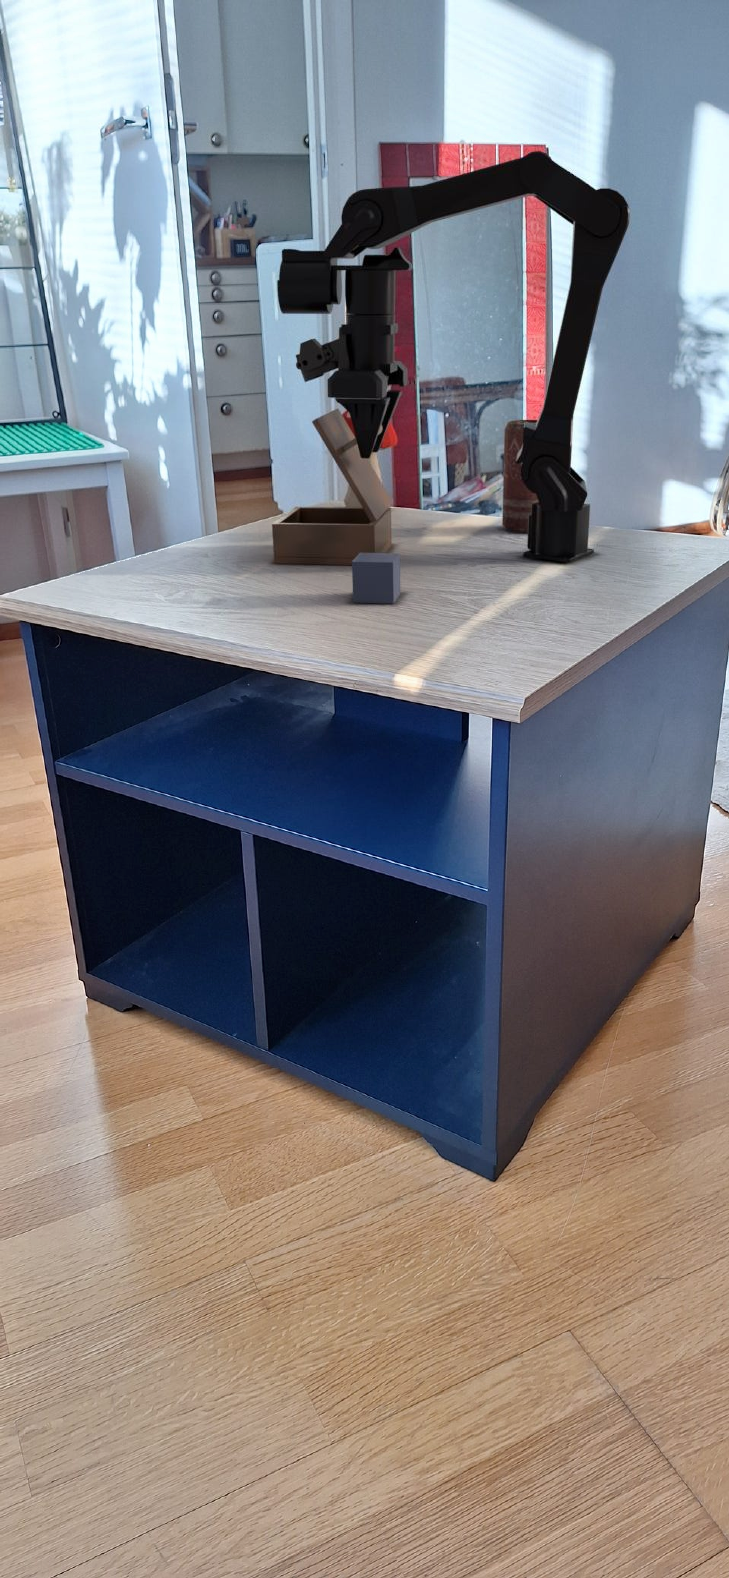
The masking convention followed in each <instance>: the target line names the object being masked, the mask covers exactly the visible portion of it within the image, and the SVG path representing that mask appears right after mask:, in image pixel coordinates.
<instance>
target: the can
mask: <svg viewBox="0 0 729 1578" xmlns="http://www.w3.org/2000/svg"><path fill="white" fill-rule="evenodd" d="M537 420H538V419H516V420H510V421H507V423H506V426H505V428H504V439H503V442H504V443H503V475H502V477H503V479H502V480H503V481H502V482H503V483H502V523H501V524H502V526H503V527H502V528H503V529H504V530H505V531H506V532H509V533H515V534H516V533H517V534H528V517H529V515H531V514H532V504H533V503H536V502H539V501H538V498H537V495H536V494H535V493H532V492H531V491H530V490H529V489H527V488H526V486H525V484H524V483H523V481H522V478H521V464H522V463H519V464H517V463H516V460H517V454H518V452H519V451H520V449H521V447H522V444H523V431H524V423H525V422H529V423H531V424H534V425H536V422H537Z"/></svg>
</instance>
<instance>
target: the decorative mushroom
mask: <svg viewBox="0 0 729 1578" xmlns="http://www.w3.org/2000/svg"><path fill="white" fill-rule="evenodd" d="M341 414H342V416H343V418H344V419H345V421H346V423H347V424H348V426H349V428H350V430H351V431H352V433H353V435H354V436H355V432H354V428H353V424H352V420H351V417H350V414H349V412H348V411H347V410H346V409H345V411H344V412H343V413H341ZM355 438H356V436H355ZM397 445H398V435H397V433H396V430H395V427H394V426H393V424H392V422H391V421H390V423H389V425H388V428H387V430H386V433H385V435H384V438H383V441H382V443H381V446H380V448H379V451H382V450H388V449H390V448H392V447H393V448H394V447H395V446H397ZM368 460H369V462H370V464H371V465H372V467H373V469H374V471H375V472H376V474H377V476H378V477H379V479H380V481H381V483H382V484H383V481H382V475H381V469H380V466H379V459H378V452H372V454H371V457H370V458H368ZM343 503H344V507H362V506H361V504H360V502H359V501H358V499H357V497H356V496H355V494H354V492H353V490H352V489H351V487H350V485H349V484H348V485H347V491H346V493H345V496H344V498H343Z"/></svg>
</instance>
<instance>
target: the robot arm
mask: <svg viewBox="0 0 729 1578" xmlns="http://www.w3.org/2000/svg"><path fill="white" fill-rule="evenodd" d="M527 197H534V198H536V199H537V200H539V201H540V202H541V203H543V204H544V205H545V206H547V207H548V208H549V209H551V210H552V211H553V212H554V213H556V214H557V215H558V216H560V217H561V218H563V219H564V220H566V221H567V222H568V223H570V224H571V225H572V242H571V244H572V245H571V260H570V261H571V265H570V282H569V286H568V292H567V295H566V301H565V305H564V310H563V314H562V319H561V322H560V323H561V324H560V328H559V333H558V337H557V341H556V347H555V351H554V355H553V359H552V364H551V368H550V374H549V378H548V383H547V387H546V392H545V396H544V402H543V406H542V408H541V410H540V413H539V415H538V418H537V419H536V420H537V422H536V425H534V424H531V423H529V422H525V423H524V431H523V444H522V447H521V449H520V451H519V452H518V454H517V460H516V463H517V464H519V463H522V464H521V478H522V481H523V483H524V484H525V486H526V488H527V489H529V490H530V491H531V492H532V493H535V494H536V495H537V498H538V501H539V502H536V503H533V504H532V514H531V515H529V517H528V533H527V541H526V542H527V545H526V546H527V549H528V550H526V551H523V552H522V556H523V557H525V558H532V559H539V560H545V561H546V560H547V561H552V562H560V563H572V562H574V561H577V560H580V559H582V558H585V557H588V556H590V555H593V554H594V553H595V549H594V548H589V533H590V532H589V531H590V515H591V504H590V503H585V502H586V500H587V497H588V489H587V485H586V481H585V480H584V478H583V477H581V475H579V473H578V472H577V471H576V470H575V469H574V468H573V467H572V453H573V434H574V433H573V432H574V414H575V410H576V406H577V401H578V397H579V393H580V389H581V383H582V379H583V375H584V370H585V366H586V364H587V363H586V362H587V357H588V353H589V349H590V344H591V341H592V337H593V331H594V328H595V323H596V320H597V319H596V318H597V315H598V310H599V307H600V302H601V298H602V297H601V296H602V293H603V289H604V286H605V284H606V281H607V278H608V276H609V274H610V272H611V269H612V267H613V265H614V262H615V260H616V258H617V256H618V253H619V251H620V248H621V246H622V243H623V241H624V239H625V236H626V233H627V230H628V228H629V225H630V220H631V219H630V218H631V211H630V206H629V203H628V202H627V200H626V198H625V197H624V196H623V195H622V194H621V193H620V192H619V191H617V190H614V189H612V188H606V187H605V188H604V187H603V188H601V187H600V188H598V189H596V188H594V187H593V186H591V185H590V184H589V183H587V182H586V181H584V180H583V179H581V178H580V177H578V176H577V175H575V174H574V173H573V172H571V171H569V170H567V168H565V167H563V166H562V165H559V163H557V162H555V161H554V160H553V159H552V157H551V156H550V155H549V154H548V153H546V152H544V151H540V150H535V151H531V152H528V153H527V154H525V155H524V156H522V157H518V158H515V159H512V160H507V161H504V162H501V163H497V164H494V165H490V166H486V167H483V168H479V169H476V170H473V171H472V170H471V171H468V172H465V173H462V174H458V175H455V176H451V177H448V178H444V179H440V180H437V181H434V182H433V181H432V182H430V183H426V184H422V185H411V186H410V185H409V186H389V187H388V186H387V187H386V186H385V187H375V188H364V189H359V190H357V191H355V192H353V193H352V194H350V195H349V197H347V199H346V202H345V203H344V205H343V207H342V211H341V215H340V219H341V224H340V226H339V228H338V229H337V231H336V232H335V233H334V235H333V237H332V238H331V239H330V241H329V243H328V244H327V245H326V247H325V249H324V250H300V249H296V248H283V249H282V250H281V262H280V266H279V272H278V273H279V274H278V279H277V281H276V286H277V287H276V288H277V289H276V290H277V301H278V306H279V310H280V312H281V314H282V315H284V314H285V315H295V314H296V315H331V314H332V312H333V308H334V305H335V306H337V305H340V304H341V303H342V296H343V279H342V271H344V320H345V321H344V323H343V324H342V323H341V324H340V325H341V326H340V327H338V338H337V339H334V340H331V341H329V342H326V343H324V344H321V343H320V342H319V341H318V340H317V338H311V339H308V340H305V341H303V342H301V343H300V345H299V353H298V354H297V353H296V354H295V358H296V363H295V367H296V369H298V370H299V371H300V373H301V375H302V379H303V381H304V383H307V382H310V381H313V380H315V379H318V378H322V377H323V376H324V375H325V374H326V373H330V372H332V374H331V375H330V376H329V377H328V378H327V398H330V399H334V400H335V402H336V403H337V404H340V405H341V406H342V407H343V408H344V409H345V411H346V410H347V411H348V412H349V414H350V417H351V420H352V424H353V428H354V432H355V436H356V440H357V444H358V449H359V453H360V457H361V458H367V459H368V458H370V457H371V454H372V452H377V453H378V452H379V451H380V450H379V448H380V446H381V443H382V441H383V438H384V435H385V433H386V430H387V428H388V425H389V423H390V422H391V420H392V417H393V415H394V412H395V410H396V408H397V406H398V403H399V400H400V398H401V396H402V394H403V390H402V389H392V388H391V386H393V385H395V386H399V387H401V388H403V387H406V386H408V379H409V377H408V376H409V375H408V374H409V373H408V372H409V371H408V370H409V369H408V368H407V367H406V365H404V363H403V362H402V361H400V360H395V340H396V339H395V337H396V336H395V334H398V333H399V323H398V322H397V323H396V271H412V269H413V268H414V267H413V266H414V265H413V264H412V263H411V262H410V261H409V260H408V259H407V257H406V256H405V255H404V254H403V251H402V249H401V248H400V247H397V246H395V247H394V248H393V249H392V251H391V252H390V253H389V254H364V256H363V258H362V263H361V265H360V264H357V265H356V264H355V265H354V264H352V265H351V264H349V265H348V264H347V265H345V264H342V265H340V264H339V265H338V260H339V259H340V260H341V259H344V260H345V259H346V260H347V259H348V260H349V259H353V260H354V259H355V258H356V257H358V256H359V255H360V254H362V253H363V252H364V251H365V250H367V249H368V250H379V249H382V248H384V247H386V246H388V245H391V244H393V243H395V242H397V241H399V240H401V239H403V238H405V237H407V236H409V235H411V234H412V233H414V232H417V231H418V230H420V229H421V228H423V227H426V226H428V225H430V224H432V223H434V222H435V223H436V222H439V221H443V220H445V219H450V218H454V217H457V216H460V215H464V214H468V213H472V212H475V211H480V210H482V209H485V208H490V207H493V206H497V205H501V204H504V203H508V202H513V201H515V200H518V199H522V198H527ZM336 369H337V370H336ZM334 370H335V371H334ZM333 371H334V372H333ZM381 425H382V428H383V429H382V432H381V433H380V434H379V435H378V433H379V430H380V427H381Z"/></svg>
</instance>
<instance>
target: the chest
mask: <svg viewBox="0 0 729 1578" xmlns="http://www.w3.org/2000/svg"><path fill="white" fill-rule="evenodd" d="M271 532H272V533H271V534H272V547H273V548H272V549H273V563H274V565H275V564H277V565H278V564H279V565H281V564H282V565H327V566H328V565H329V566H335V565H336V566H352V561H353V560H354V559H355V558H356V557H357V556H358V555H359V554H360V553H387V552H388V550H389V549H391V547H392V545H393V541H392V540H393V537H392V535H393V533H392V507H389V508H388V509H387V510H386V511H385V512H384V513H383V514H382V515H381V516H380V517H379V518H378V520H377V521H375V522H373V523H372V522H371V521H370V519H369V517H368V516H367V514H366V512H365V511H364V509H363V507H346V506H295V507H293V508H292V509H291V510H289V511H288V512H286V513H285V514H283V515H282V516H281V517H280V518H278V519H277V520H276V521H274V522H273V523H272V524H271Z"/></svg>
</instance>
